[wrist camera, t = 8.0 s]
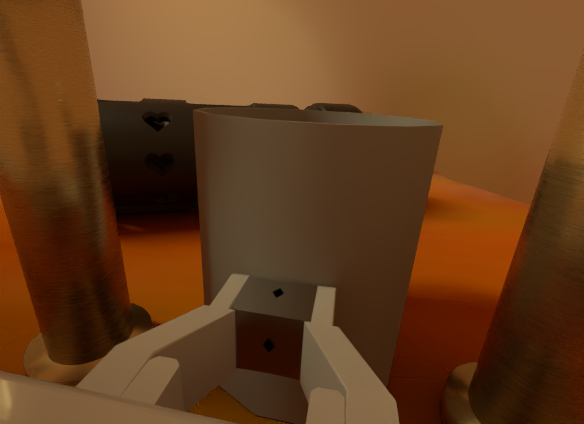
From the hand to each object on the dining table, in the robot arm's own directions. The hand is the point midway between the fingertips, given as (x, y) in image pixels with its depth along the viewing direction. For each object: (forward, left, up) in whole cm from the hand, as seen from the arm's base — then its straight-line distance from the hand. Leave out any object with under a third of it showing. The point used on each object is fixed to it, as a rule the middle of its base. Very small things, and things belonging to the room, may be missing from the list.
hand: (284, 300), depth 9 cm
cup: (0, +4, -5) cm, 7 cm away
